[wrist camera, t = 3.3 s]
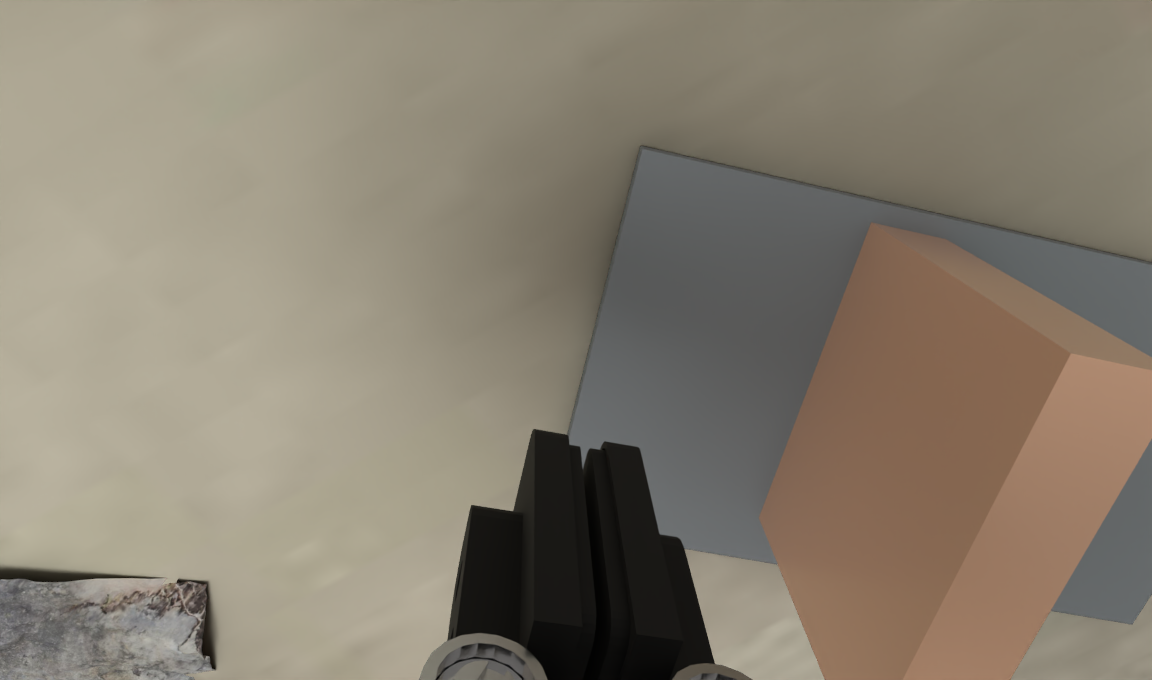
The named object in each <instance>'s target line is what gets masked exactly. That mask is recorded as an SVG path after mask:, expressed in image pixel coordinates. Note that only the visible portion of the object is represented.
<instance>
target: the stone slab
mask: <svg viewBox="0 0 1152 680" xmlns="http://www.w3.org/2000/svg"><path fill="white" fill-rule="evenodd" d="M166 579H167V578H158V579H139V578H109V579H88V580H77V581H69V582H34V581H30V580H27V579H13V580H4V579H1V580H0V680H195V679H194V677H189V676H185V675H186V674H189V673H200V672H206V671H213V670H214V669H212V667H211V664H210V657H209V656H204V655H203V654H202V637H203V632H204V622H205V616H206V604H207V600H208V598H207V591H206V585H207V584H199V583H194V582H190V581H188V582H190V584H189V583H187V582H182V583H179V579H178V580H177V583H169V584H165V585H163V583H164V582H165V580H166Z"/></svg>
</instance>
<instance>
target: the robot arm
mask: <svg viewBox="0 0 1152 680" xmlns="http://www.w3.org/2000/svg"><path fill="white" fill-rule="evenodd" d="M419 680H752V679H751V678H749V677H747V676H746V675H744V674H743V673H741V672H739V671H736V670H734V669H731V668H728V667H726V666H723V665H716V664H715V663H714V659H713V655H712V652H711V648H710V644H709V640H708V636H707V633H706V629H705V625H704V621H703V618H702V614H701V610H700V606H699V603H698V599H697V595H696V591H695V588H694V584H693V580H692V576H691V573H690V569H689V565H688V561H687V557H686V554H685V550H684V546H683V544H682V542H681V540H680V539H679V538H678V537H674V536H668V535H661V534H659V530H658V525H657V521H656V516H655V512H654V508H653V503H652V499H651V495H650V490H649V486H648V481H647V477H646V473H645V468H644V464H643V459H642V455H641V451H640V448H639V447H636V446H630V445H624V444H618V443H612V442H606V441H604V442H603V444H602V446H601V448H600V450H599V449H593V448H590V449H589V450H588V452H587V456H586V459H585V463H584V466H583V467H582V457H581V448H580V446H575V445H569V436H568V435H565V434H559V433H553V432H547V431H542V430H536V429H534V430H533V431H532V434H531V438H530V442H529V446H528V450H527V455H526V459H525V463H524V468H523V472H522V476H521V480H520V485H519V489H518V493H517V498H516V502H515V506H514V511H506V510H500V509H494V508H487V507H481V506H474V505H472V506H471V508H470V512H469V517H468V522H467V526H466V531H465V536H464V541H463V546H462V551H461V556H460V562H459V567H458V573H457V578H456V584H455V591H454V597H453V604H452V611H451V618H450V625H449V633H448V640H447V641H446V642H444V643H443V644H442V645H441V646H440V647H438V648H437V649H436V650H435V651H433V652H432V654H431V655H430V657H429V659H428V660H427V662H426V664H425V665H424V667H423V670H422V673H421V676H420V678H419Z"/></svg>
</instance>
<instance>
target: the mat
mask: <svg viewBox="0 0 1152 680" xmlns="http://www.w3.org/2000/svg"><path fill="white" fill-rule="evenodd" d="M871 222H872V223H877V224H881V225H886V226H890V227H894V228H899V229H903V230H908V231H912V232H917V233H921V234H926V235H930V236H934V237H939V238H943V239H946V240H948V241H950V242H952V243H953V244H955V245H957V246H959V247H960V248H962V249H964V250H966V251H967V252H969V253H971V254H973V255H974V256H976V257H978V258H980V259H981V260H983V261H985V262H986V263H988V264H990V265H992V266H993V267H995V268H997V269H999V270H1000V271H1002V272H1004V273H1006V274H1007V275H1009V276H1011V277H1013V278H1014V279H1016V280H1018V281H1020V282H1021V283H1023V284H1025V285H1027V286H1028V287H1030V288H1032V289H1033V290H1035V291H1037V292H1039V293H1040V294H1042V295H1044V296H1046V297H1047V298H1049V299H1051V300H1053V301H1054V302H1056V303H1058V304H1060V305H1061V306H1063V307H1065V308H1067V309H1068V310H1070V311H1072V312H1074V313H1075V314H1077V315H1079V316H1081V317H1082V318H1084V319H1086V320H1087V321H1089V322H1091V323H1093V324H1094V325H1096V326H1098V327H1100V328H1101V329H1103V330H1105V331H1107V332H1108V333H1110V334H1112V335H1114V336H1115V337H1117V338H1119V339H1121V340H1122V341H1124V342H1126V343H1128V344H1129V345H1131V346H1133V347H1134V348H1136V349H1138V350H1140V351H1141V352H1143V353H1145V354H1147V355H1148V356H1150V357H1152V262H1147V261H1143V260H1139V259H1134V258H1130V257H1125V256H1121V255H1117V254H1112V253H1108V252H1104V251H1099V250H1095V249H1091V248H1086V247H1082V246H1077V245H1073V244H1069V243H1064V242H1060V241H1056V240H1051V239H1047V238H1042V237H1038V236H1034V235H1029V234H1025V233H1021V232H1016V231H1012V230H1007V229H1003V228H999V227H994V226H990V225H986V224H981V223H977V222H972V221H968V220H964V219H959V218H955V217H951V216H946V215H942V214H937V213H933V212H929V211H924V210H920V209H916V208H911V207H907V206H903V205H898V204H894V203H889V202H885V201H881V200H876V199H872V198H868V197H863V196H859V195H854V194H850V193H846V192H841V191H837V190H833V189H828V188H824V187H819V186H815V185H811V184H806V183H802V182H798V181H793V180H789V179H784V178H780V177H776V176H771V175H767V174H763V173H758V172H754V171H749V170H745V169H741V168H736V167H732V166H728V165H723V164H719V163H715V162H710V161H706V160H701V159H697V158H693V157H688V156H684V155H680V154H675V153H671V152H666V151H662V150H658V149H653V148H649V147H645V146H640V149H639V153H638V157H637V161H636V165H635V169H634V173H633V177H632V181H631V185H630V189H629V193H628V197H627V201H626V205H625V209H624V213H623V217H622V220H621V224H620V228H619V232H618V236H617V240H616V244H615V248H614V252H613V256H612V260H611V264H610V268H609V272H608V276H607V280H606V284H605V288H604V291H603V295H602V299H601V303H600V307H599V311H598V315H597V319H596V323H595V327H594V331H593V335H592V339H591V343H590V347H589V351H588V355H587V359H586V362H585V366H584V370H583V374H582V378H581V382H580V386H579V390H578V394H577V398H576V402H575V406H574V410H573V414H572V418H571V422H570V426H569V430H568V433H567V435H568V436H569V445H575V446H580V448H581V457H582V467H583V466H584V463H585V459H586V456H587V452H588V450H589V449H590V448H593V449H599V450H600V448H601V446H602V444H603V442H604V441H606V442H612V443H618V444H624V445H630V446H636V447H639V448H640V451H641V455H642V459H643V464H644V468H645V473H646V477H647V481H648V486H649V490H650V495H651V499H652V503H653V508H654V512H655V516H656V521H657V525H658V530H659V534H661V535H668V536H674V537H678V538H679V539H680V540H681V542H682V544H683V546H684V549H689V550H695V551H701V552H707V553H713V554H719V555H725V556H730V557H736V558H742V559H748V560H754V561H760V562H766V563H772V564H777V561H776V559H775V556H774V554H773V551H772V549H771V546H770V544H769V542H768V539H767V537H766V534H765V532H764V529H763V527H762V524H761V522H760V520H759V516H760V513H761V511H762V508H763V505H764V503H765V500H766V498H767V495H768V492H769V490H770V487H771V484H772V482H773V479H774V477H775V474H776V471H777V469H778V466H779V463H780V461H781V458H782V455H783V453H784V450H785V448H786V445H787V442H788V440H789V437H790V434H791V432H792V429H793V427H794V424H795V421H796V419H797V416H798V413H799V411H800V408H801V406H802V403H803V400H804V398H805V395H806V392H807V390H808V387H809V385H810V382H811V379H812V377H813V374H814V371H815V369H816V366H817V364H818V361H819V358H820V356H821V353H822V350H823V348H824V345H825V343H826V340H827V337H828V335H829V332H830V329H831V327H832V324H833V321H834V319H835V316H836V314H837V311H838V308H839V306H840V303H841V300H842V298H843V295H844V293H845V290H846V287H847V285H848V282H849V279H850V277H851V274H852V272H853V269H854V266H855V264H856V261H857V258H858V256H859V253H860V251H861V248H862V245H863V243H864V240H865V237H866V235H867V232H868V230H869V227H870V224H871ZM1151 595H1152V439H1151V441H1150V442H1149V444H1148V446H1147V448H1146V449H1145V451H1144V453H1143V454H1142V456H1141V458H1140V459H1139V461H1138V463H1137V465H1136V466H1135V468H1134V470H1133V471H1132V473H1131V475H1130V476H1129V478H1128V480H1127V482H1126V483H1125V485H1124V487H1123V488H1122V490H1121V492H1120V494H1119V495H1118V497H1117V499H1116V500H1115V502H1114V504H1113V505H1112V507H1111V509H1110V511H1109V512H1108V514H1107V516H1106V517H1105V519H1104V521H1103V522H1102V524H1101V526H1100V528H1099V529H1098V531H1097V533H1096V534H1095V536H1094V538H1093V539H1092V541H1091V543H1090V545H1089V546H1088V548H1087V550H1086V551H1085V553H1084V555H1083V556H1082V558H1081V560H1080V562H1079V563H1078V565H1077V567H1076V568H1075V570H1074V572H1073V574H1072V575H1071V577H1070V579H1069V580H1068V582H1067V584H1066V585H1065V587H1064V589H1063V591H1062V592H1061V594H1060V596H1059V597H1058V599H1057V601H1056V602H1055V604H1054V606H1053V608H1052V609H1051V611H1055V612H1061V613H1067V614H1073V615H1079V616H1085V617H1090V618H1096V619H1102V620H1108V621H1114V622H1120V623H1126V624H1133V623H1134V621H1135V620H1136V618H1137V616H1138V615H1139V613H1140V612H1141V610H1142V609H1143V607H1144V606H1145V604H1146V602H1147V601H1148V599H1149V598H1150V596H1151Z"/></svg>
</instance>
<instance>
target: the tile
mask: <svg viewBox="0 0 1152 680" xmlns="http://www.w3.org/2000/svg"><path fill="white" fill-rule="evenodd" d="M1151 439H1152V357H1150V356H1148V355H1147V354H1145V353H1143V352H1141V351H1140V350H1138V349H1136V348H1134V347H1133V346H1131V345H1129V344H1128V343H1126V342H1124V341H1122V340H1121V339H1119V338H1117V337H1115V336H1114V335H1112V334H1110V333H1108V332H1107V331H1105V330H1103V329H1101V328H1100V327H1098V326H1096V325H1094V324H1093V323H1091V322H1089V321H1087V320H1086V319H1084V318H1082V317H1081V316H1079V315H1077V314H1075V313H1074V312H1072V311H1070V310H1068V309H1067V308H1065V307H1063V306H1061V305H1060V304H1058V303H1056V302H1054V301H1053V300H1051V299H1049V298H1047V297H1046V296H1044V295H1042V294H1040V293H1039V292H1037V291H1035V290H1033V289H1032V288H1030V287H1028V286H1027V285H1025V284H1023V283H1021V282H1020V281H1018V280H1016V279H1014V278H1013V277H1011V276H1009V275H1007V274H1006V273H1004V272H1002V271H1000V270H999V269H997V268H995V267H993V266H992V265H990V264H988V263H986V262H985V261H983V260H981V259H980V258H978V257H976V256H974V255H973V254H971V253H969V252H967V251H966V250H964V249H962V248H960V247H959V246H957V245H955V244H953V243H952V242H950V241H948V240H946V239H943V238H939V237H934V236H930V235H926V234H921V233H917V232H912V231H908V230H903V229H899V228H894V227H890V226H886V225H881V224H877V223H872V222H871V224H870V227H869V230H868V232H867V235H866V237H865V240H864V243H863V245H862V248H861V251H860V253H859V256H858V258H857V261H856V264H855V266H854V269H853V272H852V274H851V277H850V279H849V282H848V285H847V287H846V290H845V293H844V295H843V298H842V300H841V303H840V306H839V308H838V311H837V314H836V316H835V319H834V321H833V324H832V327H831V329H830V332H829V335H828V337H827V340H826V343H825V345H824V348H823V350H822V353H821V356H820V358H819V361H818V364H817V366H816V369H815V371H814V374H813V377H812V379H811V382H810V385H809V387H808V390H807V392H806V395H805V398H804V400H803V403H802V406H801V408H800V411H799V413H798V416H797V419H796V421H795V424H794V427H793V429H792V432H791V434H790V437H789V440H788V442H787V445H786V448H785V450H784V453H783V455H782V458H781V461H780V463H779V466H778V469H777V471H776V474H775V477H774V479H773V482H772V484H771V487H770V490H769V492H768V495H767V498H766V500H765V503H764V505H763V508H762V511H761V513H760V516H759V520H760V522H761V524H762V527H763V529H764V532H765V534H766V537H767V539H768V542H769V544H770V546H771V549H772V551H773V554H774V556H775V559H776V561H777V564H778V566H779V568H780V571H781V573H782V576H783V578H784V581H785V583H786V586H787V588H788V590H789V593H790V595H791V598H792V600H793V603H794V605H795V608H796V610H797V612H798V615H799V617H800V620H801V622H802V625H803V627H804V630H805V632H806V634H807V637H808V639H809V642H810V644H811V647H812V649H813V652H814V654H815V656H816V659H817V661H818V664H819V666H820V669H821V671H822V674H823V676H824V679H825V680H1010V679H1011V677H1012V676H1013V674H1014V672H1015V671H1016V669H1017V667H1018V665H1019V664H1020V662H1021V660H1022V659H1023V657H1024V655H1025V654H1026V652H1027V650H1028V648H1029V647H1030V645H1031V643H1032V642H1033V640H1034V638H1035V636H1036V635H1037V633H1038V631H1039V630H1040V628H1041V626H1042V625H1043V623H1044V621H1045V619H1046V618H1047V616H1048V614H1049V613H1050V611H1051V609H1052V608H1053V606H1054V604H1055V602H1056V601H1057V599H1058V597H1059V596H1060V594H1061V592H1062V591H1063V589H1064V587H1065V585H1066V584H1067V582H1068V580H1069V579H1070V577H1071V575H1072V574H1073V572H1074V570H1075V568H1076V567H1077V565H1078V563H1079V562H1080V560H1081V558H1082V556H1083V555H1084V553H1085V551H1086V550H1087V548H1088V546H1089V545H1090V543H1091V541H1092V539H1093V538H1094V536H1095V534H1096V533H1097V531H1098V529H1099V528H1100V526H1101V524H1102V522H1103V521H1104V519H1105V517H1106V516H1107V514H1108V512H1109V511H1110V509H1111V507H1112V505H1113V504H1114V502H1115V500H1116V499H1117V497H1118V495H1119V494H1120V492H1121V490H1122V488H1123V487H1124V485H1125V483H1126V482H1127V480H1128V478H1129V476H1130V475H1131V473H1132V471H1133V470H1134V468H1135V466H1136V465H1137V463H1138V461H1139V459H1140V458H1141V456H1142V454H1143V453H1144V451H1145V449H1146V448H1147V446H1148V444H1149V442H1150V441H1151Z"/></svg>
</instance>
